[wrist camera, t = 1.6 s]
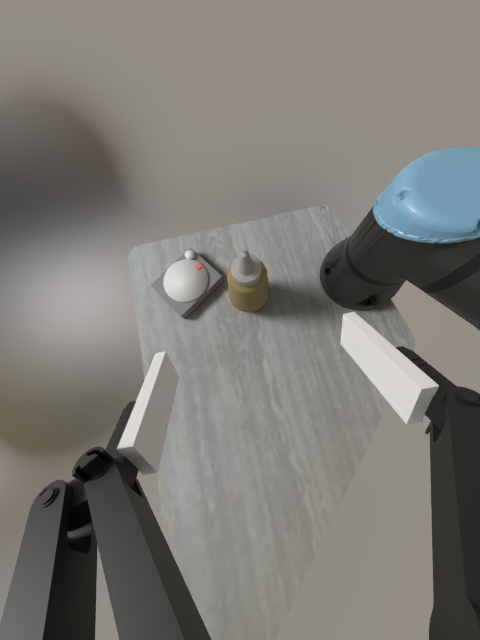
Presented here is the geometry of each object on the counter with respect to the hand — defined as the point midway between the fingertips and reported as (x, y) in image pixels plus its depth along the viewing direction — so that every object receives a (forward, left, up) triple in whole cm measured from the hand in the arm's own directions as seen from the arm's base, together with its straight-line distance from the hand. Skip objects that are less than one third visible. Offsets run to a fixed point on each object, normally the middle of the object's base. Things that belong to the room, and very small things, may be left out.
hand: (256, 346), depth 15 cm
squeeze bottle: (-8, -10, -27) cm, 30 cm away
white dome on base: (-1, -22, -27) cm, 34 cm away
